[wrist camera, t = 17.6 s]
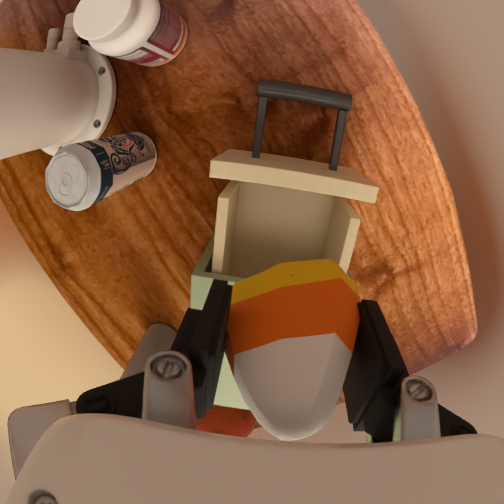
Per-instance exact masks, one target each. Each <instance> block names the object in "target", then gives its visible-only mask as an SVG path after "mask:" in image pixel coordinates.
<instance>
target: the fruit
mask: <svg viewBox="0 0 504 504" xmlns="http://www.w3.org/2000/svg"><path fill="white" fill-rule="evenodd" d="M196 421H197V430H199V431H205V432H210V433H216V434H223V435H229V436H237V437H244V438H246V437H247V436H248V435H249V434H250V433H251V432H252V430H253V429H254V426H255V423H256V418H255V417H254V415H253V414H252V412H251V411H250V410H246V409H239V408H233V407H226V406H220V405H214V404H213V408H212V411H210V410H206V414H205V418H200V419H198V420H196Z"/></svg>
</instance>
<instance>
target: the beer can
mask: <svg viewBox="0 0 504 504" xmlns="http://www.w3.org/2000/svg"><path fill="white" fill-rule="evenodd" d="M156 158H157V153H156V148H155V146H154V144H153V142H152V140H151V139H150V138H149V137H148V136H146V135H145V134H142V133H139V132H131V133H127V134H121V135H115V136H109V137H104V138H99V139H94V140H89V141H84V142H80V143H75V144H68V145H66V146H64V147H62V148H61V149H59V150H58V151H57V152H56V154H55V155H54V157H53V158H52V159H51V161H50V163H49V165H48V167H47V169H46V189H47V191H48V193H49V194H50V196H51V198H52V200H53V202H54V203H56V204H58V205H59V206H61V207H63V208H65V209H70V210H73V211H80V210H83V209H86V208H88V207H90V206H92V205H93V204H95V203H97V202H99V201H100V200H102V199H104V198H106V197H108V196H109V195H111V194H113V193H115V192H117V191H119V190H121V189H122V188H124V187H126V186H128V185H130V184H132V183H134V182H136V181H138V180H140V179H142V178H144V177H146V176H147V175H148V174H149V173H150V172H151V171H152V170H153V168H154V166H155V163H156Z"/></svg>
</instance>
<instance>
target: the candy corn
mask: <svg viewBox="0 0 504 504" xmlns="http://www.w3.org/2000/svg"><path fill="white" fill-rule="evenodd" d="M358 302H360V297H359V293H358V289H357V284H356V283H355V282H354V281H353V280H352V279H351V278H350V277H349V276H348V275H347V274H346V273H345V271H344V270H343V269H342V268H341V267H340V266H339V265H338V264H336V263H335V262H334V261H332V260H331V259H330V258H329V259H318V260H306V261H295V262H283V263H279V264H277V265H275V266H273V267H271V268H269V269H267V270H265V271H263V272H261V273H259V274H256V275H254V276H251V277H249V278H246V279H244V280H241V281H239V282H236V283H234V285H233V289H232V298H231V307H230V314H229V319H228V323H227V329H226V338H225V347H224V351H225V354H226V357H227V360H228V363H229V365H230V368H231V371H232V374H233V377H234V379H235V382H236V384H237V386H238V389H239V391H240V393H241V396H242V398H243V400H244V401H245V403H246V404H247V406H248V407H249V409H250V411H251V412H252V414H253V415H254V417H255V418H256V420H257V421H258V423H259V424H260V425H261V426H263V427H264V428H265V429H266V430H267V431H269V432H270V433H271V434H272V435H274V436H275V437H277V438H278V439H280V440H298V439H301V438H305V437H308V436H311V435H313V434H314V433H316V432H317V431H319V430H320V429H322V428H323V427H325V426H326V424H327V421H328V420H329V418H330V416H331V414H332V411H333V409H334V407H335V405H336V403H337V401H338V399H339V396H340V393H341V390H342V386H343V383H344V380H345V377H346V373H347V370H348V367H349V363H350V360H351V356H352V353H353V348H354V344H355V340H356V336H357V332H358V327H359V323H360V314H359V309H358V304H357V303H358Z"/></svg>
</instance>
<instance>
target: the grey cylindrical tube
mask: <svg viewBox="0 0 504 504" xmlns="http://www.w3.org/2000/svg"><path fill="white" fill-rule="evenodd" d="M176 335H177V332H176V331H175V330H174V329H173V328H171V327H170V326H168V325H165V324H161V323H156V324H152V325H150V326H149V327H148V329H147V330H146V332H145V334H144V336H143V337H142V339H141V341H140V343H139V345H138V347H137V348H136V350H135V352H134V354H133V356H132V357H131V359H130V361H129V363H128V365H127V367H126V369H125V371H124V372H123V374H122V376H121V378H120V379H123V378H126V377H129V376H132V375H135V374H138V373H140V372H143V371H145V365H146V361H147V359H148V358H149V357H150V356H151V355H153V354H154V353H156V352H159V351H163V350H170V349H171V346H172V344H173V342H174V339H175V337H176Z"/></svg>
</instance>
